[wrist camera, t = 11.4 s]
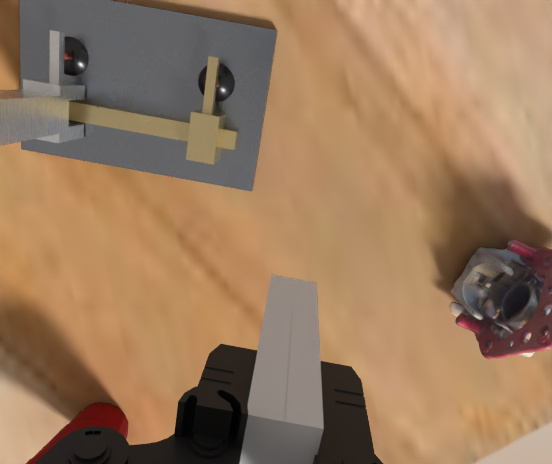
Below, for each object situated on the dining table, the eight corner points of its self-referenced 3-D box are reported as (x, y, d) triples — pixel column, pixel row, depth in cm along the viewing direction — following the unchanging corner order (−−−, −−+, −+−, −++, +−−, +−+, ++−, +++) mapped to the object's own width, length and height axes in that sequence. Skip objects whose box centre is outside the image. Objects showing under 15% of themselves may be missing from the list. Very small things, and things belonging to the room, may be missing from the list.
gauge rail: (42, 26, 39) (19, 21, 36) (248, 63, 39) (243, 62, 36) (42, 126, 42) (21, 129, 38) (234, 161, 41) (228, 167, 38)
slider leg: (52, 30, 39) (-58, 8, 27) (86, 37, 39) (-9, 17, 27) (51, 131, 41) (-49, 150, 30) (83, 137, 41) (-5, 158, 30)
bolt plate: (24, -15, 39) (18, -17, 38) (277, 31, 38) (276, 30, 38) (26, 147, 43) (20, 149, 42) (252, 189, 43) (251, 191, 42)
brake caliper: (478, 209, 40) (619, 290, 31) (528, 227, 47) (655, 297, 38) (412, 312, 43) (522, 410, 35) (468, 315, 50) (572, 397, 42)
